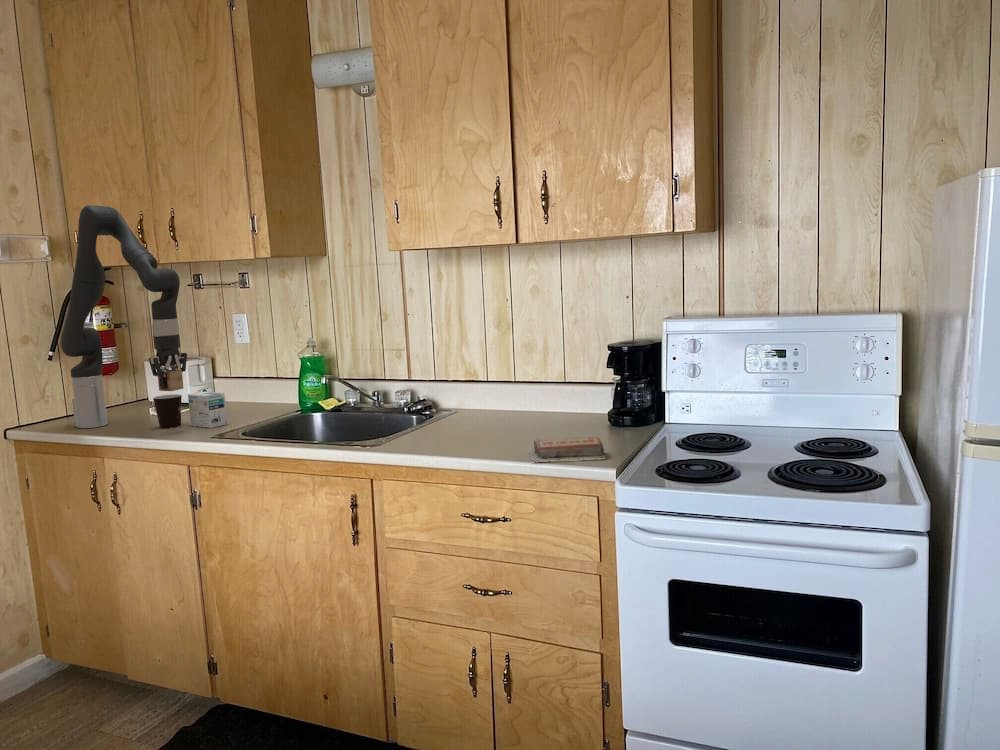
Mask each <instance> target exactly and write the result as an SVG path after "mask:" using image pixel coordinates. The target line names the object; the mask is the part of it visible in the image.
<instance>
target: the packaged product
mask: <svg viewBox="0 0 1000 750" xmlns="http://www.w3.org/2000/svg"><path fill="white" fill-rule="evenodd" d="M533 446H534V447H533V448H529V450H528V455H529V454H530V455H529V459H530V458H531V461H539V460H560V459H570V458H571V459H573V458H574V459H575V458H577V459H580V458H582V459H584V458H606V455H605V448H604V443H602V440H601V439H600V437H598V436H594V437H593V436H592V437H591V436H590V437H589V436H588V437H567V438H566V437H565V438H563V437H562V438H561V437H560V438H540V439H539V438H538V439H535V440H534V441H533ZM606 459H607V458H606ZM531 461H530V462H531Z"/></svg>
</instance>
